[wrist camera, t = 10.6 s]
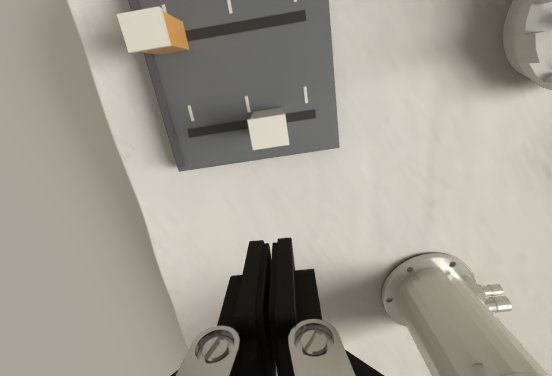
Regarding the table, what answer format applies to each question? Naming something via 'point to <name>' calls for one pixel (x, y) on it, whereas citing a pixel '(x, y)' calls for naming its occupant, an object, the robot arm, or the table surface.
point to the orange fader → (152, 32)
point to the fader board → (245, 78)
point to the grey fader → (268, 128)
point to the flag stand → (530, 39)
